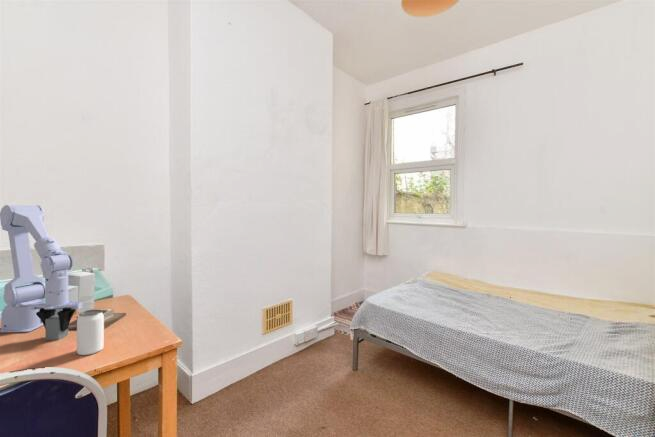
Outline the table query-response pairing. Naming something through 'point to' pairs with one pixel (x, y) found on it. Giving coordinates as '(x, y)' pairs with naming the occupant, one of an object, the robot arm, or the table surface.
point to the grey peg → (54, 328)
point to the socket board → (108, 318)
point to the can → (90, 332)
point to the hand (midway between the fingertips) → (57, 330)
